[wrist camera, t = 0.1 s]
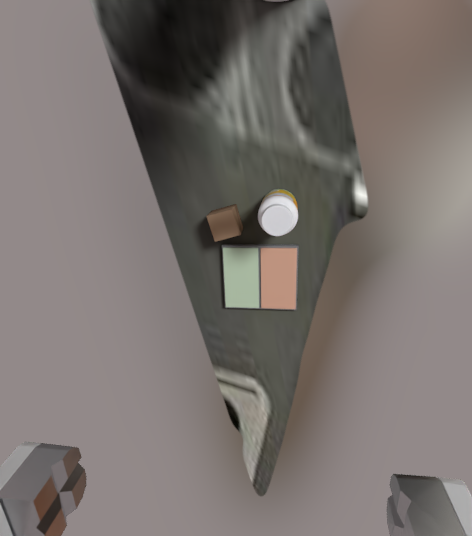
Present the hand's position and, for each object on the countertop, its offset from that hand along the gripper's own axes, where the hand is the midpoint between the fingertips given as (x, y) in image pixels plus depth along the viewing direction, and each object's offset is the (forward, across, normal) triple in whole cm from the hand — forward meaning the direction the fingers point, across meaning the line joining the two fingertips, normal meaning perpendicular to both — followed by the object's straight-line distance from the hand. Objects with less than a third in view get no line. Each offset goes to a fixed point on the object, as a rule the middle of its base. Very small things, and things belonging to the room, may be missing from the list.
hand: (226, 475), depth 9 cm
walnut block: (+48, +8, +4) cm, 49 cm away
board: (+48, +3, +14) cm, 50 cm away
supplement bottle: (+48, 0, +2) cm, 48 cm away
